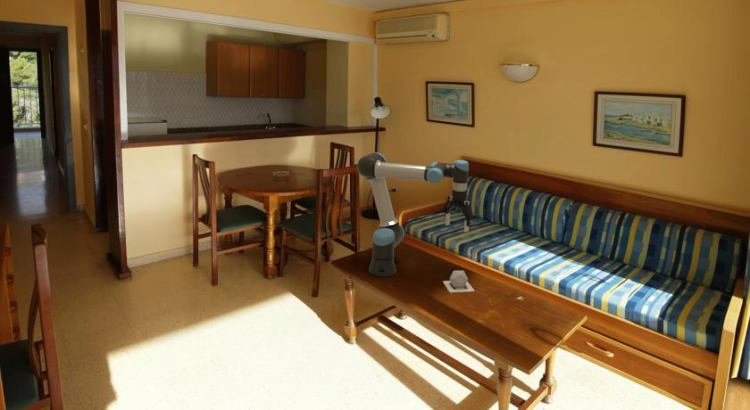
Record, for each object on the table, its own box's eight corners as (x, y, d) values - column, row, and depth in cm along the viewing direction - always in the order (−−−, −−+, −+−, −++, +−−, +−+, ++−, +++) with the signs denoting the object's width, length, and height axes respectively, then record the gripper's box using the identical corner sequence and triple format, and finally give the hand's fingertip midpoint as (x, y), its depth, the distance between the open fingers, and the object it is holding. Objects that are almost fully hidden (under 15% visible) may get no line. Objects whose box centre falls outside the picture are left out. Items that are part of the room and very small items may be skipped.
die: (463, 292, 248) (473, 275, 250) (448, 283, 248) (458, 266, 249) (458, 290, 257) (468, 274, 258) (444, 282, 257) (454, 265, 258)
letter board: (449, 292, 247) (450, 291, 247) (442, 282, 260) (442, 280, 260) (474, 291, 249) (474, 290, 249) (466, 281, 262) (466, 280, 262)
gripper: (437, 185, 264) (435, 223, 270) (473, 196, 246) (469, 235, 251) (447, 184, 269) (444, 220, 275) (482, 194, 250) (479, 233, 256)
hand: (456, 228), depth 263 cm, fingers open, 13 cm apart
